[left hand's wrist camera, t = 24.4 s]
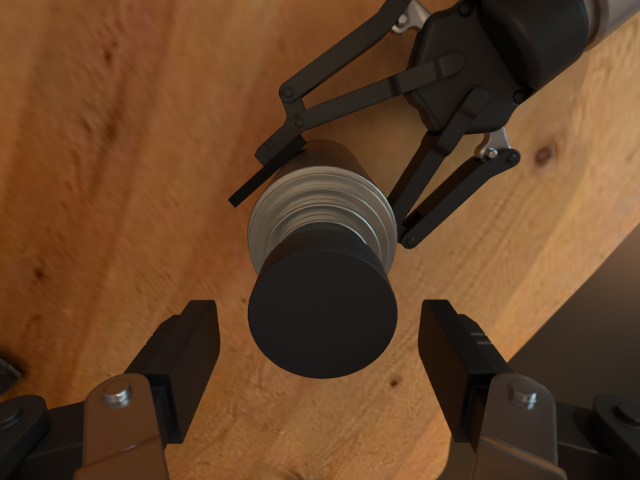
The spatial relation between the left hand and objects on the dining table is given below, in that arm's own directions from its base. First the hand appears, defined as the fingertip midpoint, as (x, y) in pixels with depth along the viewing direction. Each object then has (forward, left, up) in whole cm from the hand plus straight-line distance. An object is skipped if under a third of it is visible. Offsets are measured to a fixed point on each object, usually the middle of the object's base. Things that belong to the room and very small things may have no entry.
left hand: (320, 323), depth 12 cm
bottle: (+1, +1, -21) cm, 21 cm away
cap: (+1, +1, +1) cm, 2 cm away
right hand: (-4, 0, -15) cm, 15 cm away
